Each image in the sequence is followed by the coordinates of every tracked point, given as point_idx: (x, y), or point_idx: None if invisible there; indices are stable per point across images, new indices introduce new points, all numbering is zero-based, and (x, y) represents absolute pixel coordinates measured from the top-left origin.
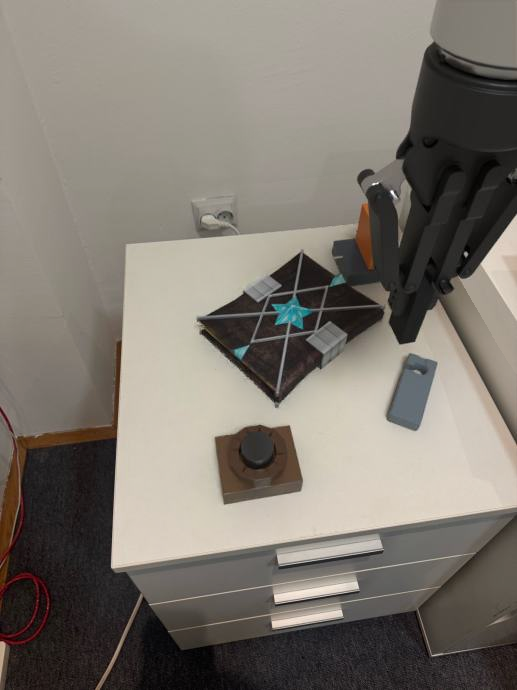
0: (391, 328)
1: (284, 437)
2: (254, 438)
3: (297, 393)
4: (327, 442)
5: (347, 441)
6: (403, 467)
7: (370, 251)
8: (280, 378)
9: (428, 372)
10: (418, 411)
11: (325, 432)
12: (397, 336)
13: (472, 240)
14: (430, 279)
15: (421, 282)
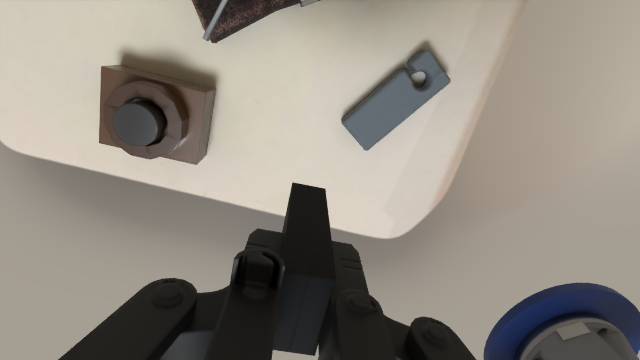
0: (289, 197)
1: (193, 106)
2: (133, 113)
3: (252, 31)
4: (259, 115)
5: (282, 124)
6: (324, 175)
7: None
8: (217, 15)
9: (427, 91)
10: (375, 136)
11: (262, 102)
12: (283, 227)
13: None
14: (320, 341)
15: (302, 320)
